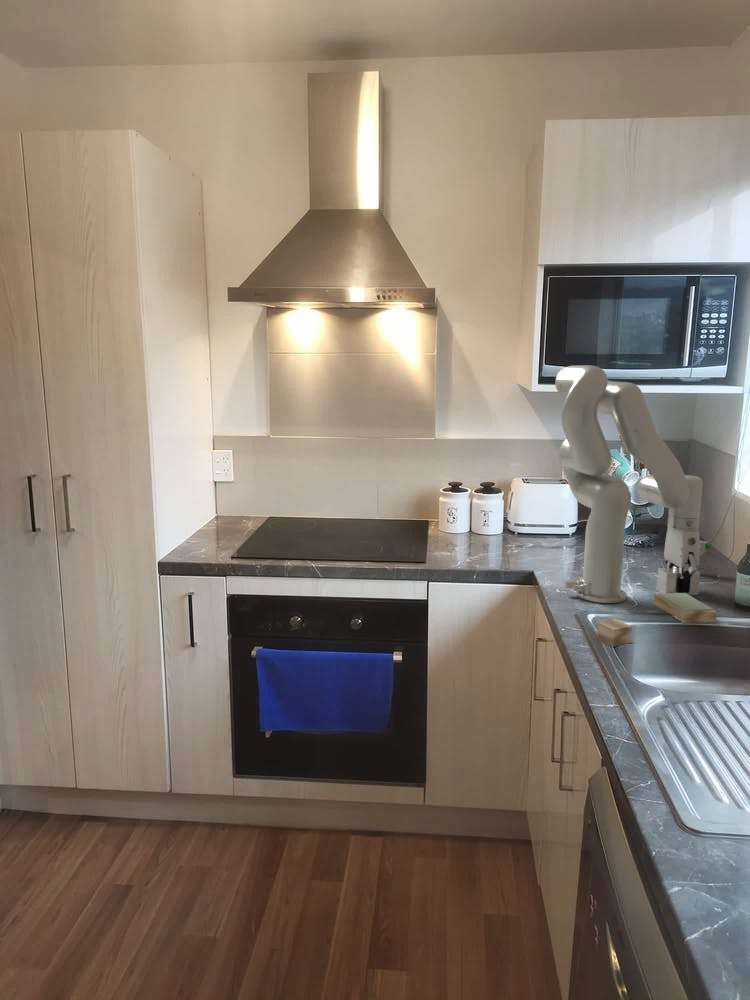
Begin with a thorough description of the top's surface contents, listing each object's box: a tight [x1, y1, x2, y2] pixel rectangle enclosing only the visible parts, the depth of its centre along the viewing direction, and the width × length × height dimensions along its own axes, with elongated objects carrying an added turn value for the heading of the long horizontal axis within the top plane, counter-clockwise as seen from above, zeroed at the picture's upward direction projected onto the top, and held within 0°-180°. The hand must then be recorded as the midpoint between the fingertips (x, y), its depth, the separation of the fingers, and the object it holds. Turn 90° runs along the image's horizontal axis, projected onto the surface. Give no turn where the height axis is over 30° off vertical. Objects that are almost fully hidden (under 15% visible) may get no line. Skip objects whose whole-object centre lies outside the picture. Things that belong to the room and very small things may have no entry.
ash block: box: [595, 618, 633, 648], centre depth 155 cm, size 5×5×4 cm
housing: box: [656, 565, 701, 596], centre depth 190 cm, size 9×5×7 cm, turn 95°
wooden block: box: [653, 593, 718, 624], centre depth 174 cm, size 8×14×3 cm, turn 6°
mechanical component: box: [685, 540, 711, 567], centre depth 206 cm, size 3×10×10 cm, turn 51°
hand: (677, 588), depth 190 cm, fingers closed on housing, 5 cm apart
